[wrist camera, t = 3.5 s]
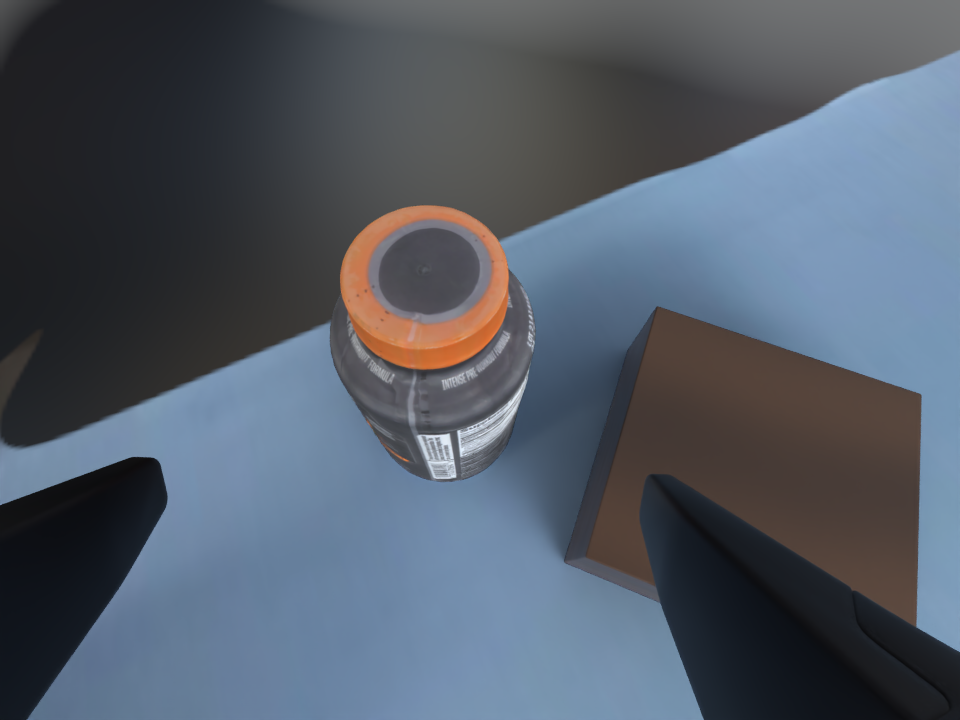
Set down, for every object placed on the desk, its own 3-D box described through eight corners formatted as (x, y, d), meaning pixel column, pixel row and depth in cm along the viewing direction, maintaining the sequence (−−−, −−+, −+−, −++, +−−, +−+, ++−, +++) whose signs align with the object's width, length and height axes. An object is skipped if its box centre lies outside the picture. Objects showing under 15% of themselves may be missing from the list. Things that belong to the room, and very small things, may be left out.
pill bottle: (366, 374, 22) (277, 196, 12) (490, 340, 23) (505, 147, 13) (396, 503, 20) (318, 419, 10) (533, 460, 21) (593, 341, 11)
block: (825, 672, 18) (916, 694, 14) (563, 562, 19) (585, 556, 16) (847, 425, 22) (922, 393, 18) (627, 349, 23) (656, 305, 20)
